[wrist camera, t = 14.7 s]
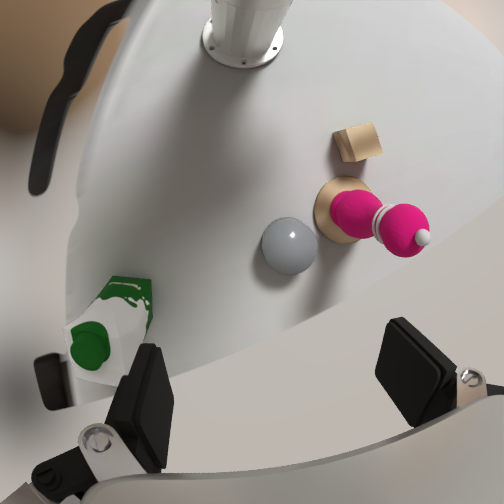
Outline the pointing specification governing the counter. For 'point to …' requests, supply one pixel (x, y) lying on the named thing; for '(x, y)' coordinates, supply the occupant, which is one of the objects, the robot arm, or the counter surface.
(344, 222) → the pepper mill
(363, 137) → the oak block
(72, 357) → the milk carton
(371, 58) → the counter surface
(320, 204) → the cork trivet
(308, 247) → the grey rounded dome
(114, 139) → the counter surface
